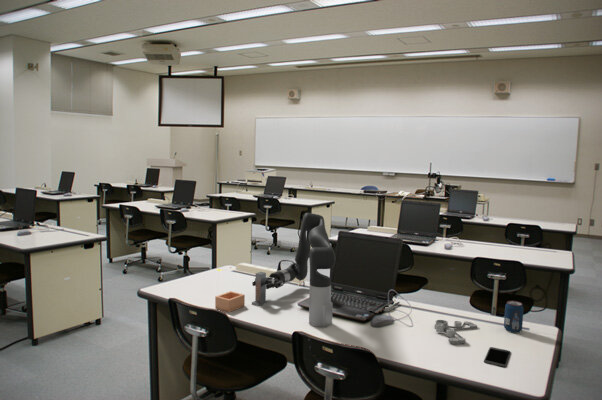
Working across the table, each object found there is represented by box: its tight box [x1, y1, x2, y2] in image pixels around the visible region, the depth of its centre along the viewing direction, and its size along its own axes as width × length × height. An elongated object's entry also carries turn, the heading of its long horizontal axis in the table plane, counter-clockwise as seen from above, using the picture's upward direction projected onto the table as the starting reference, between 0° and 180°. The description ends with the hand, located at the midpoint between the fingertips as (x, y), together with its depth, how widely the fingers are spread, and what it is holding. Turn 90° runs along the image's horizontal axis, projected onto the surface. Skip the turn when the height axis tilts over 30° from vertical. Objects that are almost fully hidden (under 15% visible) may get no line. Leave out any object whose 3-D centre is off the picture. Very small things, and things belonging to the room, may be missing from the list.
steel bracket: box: [251, 271, 268, 307], centre depth 209 cm, size 4×6×15 cm
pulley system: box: [434, 319, 478, 345], centre depth 180 cm, size 27×5×15 cm
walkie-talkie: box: [383, 301, 401, 312], centre depth 207 cm, size 9×4×20 cm
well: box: [214, 290, 246, 313], centre depth 204 cm, size 9×10×6 cm
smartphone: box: [483, 346, 511, 369], centre depth 157 cm, size 7×15×1 cm, turn 148°
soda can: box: [503, 300, 524, 334], centre depth 181 cm, size 7×7×12 cm
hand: (259, 285), depth 209 cm, fingers open, 8 cm apart
